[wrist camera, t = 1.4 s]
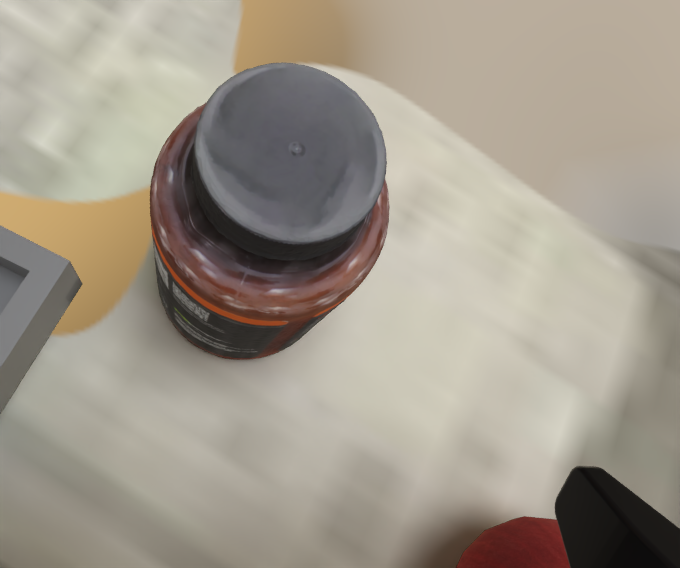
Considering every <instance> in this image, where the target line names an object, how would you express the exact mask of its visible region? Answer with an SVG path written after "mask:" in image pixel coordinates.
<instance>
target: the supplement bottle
mask: <svg viewBox="0 0 680 568" xmlns="http://www.w3.org/2000/svg"><path fill="white" fill-rule="evenodd" d="M386 164H387V161H386V148H385V144H384V139H383V136H382V132H381V130H380V128H379V125H378V123H377V121H376V118H375V116H374V114H373V113H372V111H371V110H370V109H369V107H368V106H367V105H366V104H365V103H364V101H363V100H362V99H361V98H360V97H359V95H358V94H357V93H356V92H355V91H353V90H352V89H351V88H349V87H348V86H347V85H346V84H344V83H343V82H342V81H340V80H339V79H337V78H335V77H334V76H332V75H329V74H328V73H326V72H324V71H321V70H318V69H315V68H313V67H309V66H305V65H298V64H293V63H271V64H266V65H261V66H257V67H254V68H251V69H246V70H244V71H242V72H240V73H238V74H236V75H235V76H233V77H231V78H230V79H228V80H227V81H226V82H225V83H223V84H222V85H221V86H219V87H218V88H217V89H216V91H215V92H214V93H213V95H212V96H211V97H210V99H209V100H208V101H207V103H205V104H204V105H202V106H200V107H197V108H196V109H195V110H194V111H193V112H192V113H190V114H189V115H188V116H186V117H185V118H184V119H183V121H182V122H181V123H180V124H179V125H178V126H177V127H176V128H175V130H174V131H173V132H172V133H171V135H170V136H169V138H168V139H167V140H166V142H165V144H164V145H163V147H162V149H161V151H160V154H159V156H158V158H157V161H156V163H155V167H154V171H153V176H152V180H151V189H150V216H151V227H152V236H153V244H154V253H155V263H156V273H157V281H158V288H159V293H160V297H161V300H162V303H163V305H164V308H165V310H166V313H167V315H168V317H169V319H170V320H171V321H172V323H173V324H174V325H175V327H176V328H177V329H178V330H179V331H180V333H181V334H182V335H183V336H184V337H186V338H187V339H188V340H189V341H190V342H191V343H193V344H194V345H196V346H197V347H199V348H201V349H203V350H205V351H207V352H209V353H211V354H214V355H217V356H220V357H223V358H228V359H255V358H261V357H265V356H268V355H271V354H274V353H277V352H279V351H281V350H283V349H285V348H287V347H289V346H291V345H292V344H293V343H295V342H296V341H297V340H299V339H300V338H301V337H302V336H303V335H304V334H306V333H307V332H308V331H309V330H310V329H311V328H312V327H314V326H315V325H316V324H317V323H318V322H319V321H321V320H322V319H323V318H324V317H325V316H326V315H327V314H329V313H330V312H331V311H332V310H333V309H335V308H336V307H337V306H338V305H339V304H341V303H342V302H344V300H345V299H346V298H347V297H348V296H349V295H350V294H351V293H352V292H353V291H354V290H355V289H356V288H357V287H358V286H359V285H360V284H361V283H362V282H363V280H364V279H365V278H366V276H367V275H368V274H369V272H370V271H371V269H372V268H373V266H374V264H375V263H376V261H377V259H378V257H379V255H380V252H381V250H382V248H383V245H384V241H385V238H386V235H387V228H388V222H389V198H388V189H387V184H386V181H385V174H386Z"/></svg>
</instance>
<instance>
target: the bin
mask: <svg viewBox="0 0 680 568" xmlns="http://www.w3.org/2000/svg"><path fill="white" fill-rule="evenodd" d="M81 285H82V282H81V281H80V279H79V277H78V275H77V273H76V271H75V270H74V268H73V266H72V264H71V262H70V261H69V260H67V259H65V258H63V257H61V256H59V255H57V254H55V253H53V252H51V251H49V250H47V249H45V248H43V247H41V246H39V245H37V244H35V243H33V242H32V241H30V240H28V239H26V238H24V237H22V236H20V235H18V234H16V233H14V232H12V231H10V230H8V229H6V228H4V227H2V226H0V413H1V412H2V410H3V409H4V407H5V406H6V404H7V402H8V401H9V399H10V398H11V396H12V394H13V393H14V391H15V390H16V388H17V387H18V385H19V383H20V382H21V380H22V379H23V377H24V376H25V374H26V372H27V371H28V369H29V368H30V366H31V364H32V363H33V361H34V360H35V358H36V357H37V355H38V353H39V352H40V350H41V349H42V347H43V345H44V344H45V342H46V341H47V339H48V338H49V336H50V334H51V333H52V331H53V330H54V328H55V327H56V325H57V323H58V322H59V320H60V319H61V317H62V315H63V314H64V312H65V311H66V309H67V308H68V306H69V304H70V303H71V301H72V300H73V298H74V296H75V295H76V293H77V292H78V290H79V289H80V287H81Z"/></svg>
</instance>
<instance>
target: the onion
mask: <svg viewBox="0 0 680 568" xmlns="http://www.w3.org/2000/svg"><path fill="white" fill-rule="evenodd" d="M456 568H570V565H569V561H568V558H567V554H566V551H565V547H564V543H563V540H562V536H561V533H560V529H559V526H558V522H557V520H554V519H544V518H535V517H525V516H524V517H520V518H516V519H513V520H510V521H507V522H505V523H502V524H500V525H497V526H495V527H492V528H490V529H487V530H485V531H484V532H483V533H482V534H481V535H480V536H479V537H478V538H477V539H476V540H475V541H474V542H473V543H472V544H471V545H470V546H469V547H468V548H467V549H466V550H465V551H464V552H463V554H462V556H461V558H460V560H459V563H458V565H457V567H456Z"/></svg>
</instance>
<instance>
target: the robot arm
mask: <svg viewBox="0 0 680 568" xmlns="http://www.w3.org/2000/svg"><path fill="white" fill-rule="evenodd" d="M555 514H556V518H557V522H558V526H559V529H560V533H561V536H562V540H563V543H564V547H565V551H566V554H567V558H568V561H569V565H570V568H680V529H679V528H678V527H677V526H675V525H674V524H673V523H672V522H670V521H669V520H668V519H666V518H665V517H664V516H663V515H661V514H660V513H659V512H657V511H656V510H655V509H654V508H652V507H651V506H650V505H648V504H647V503H646V502H645V501H643V500H642V499H641V498H639V497H638V496H637V495H636V494H634V493H633V492H632V491H630V490H629V489H628V488H627V487H625V486H624V485H623V484H621V483H620V482H619V481H617V480H616V479H615V478H614V477H612V476H611V475H610V474H608V473H607V472H606V471H605V470H603V469H602V468H599V467H594V466H577V467H575V468H573V469H572V471H571V472H570V474H569V476H568V477H567V479H566V481H565V483H564V485H563V487H562V489H561V490H560V492H559V494H558V496H557V498H556V502H555Z"/></svg>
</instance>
